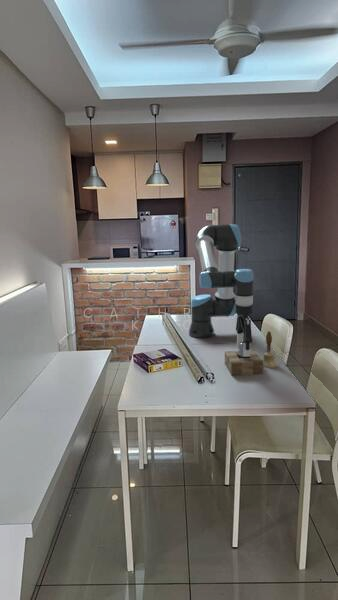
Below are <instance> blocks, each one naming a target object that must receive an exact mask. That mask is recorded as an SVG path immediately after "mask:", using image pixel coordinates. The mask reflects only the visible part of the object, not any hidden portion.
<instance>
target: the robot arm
mask: <svg viewBox="0 0 338 600" xmlns="http://www.w3.org/2000/svg"><path fill="white" fill-rule="evenodd" d="M194 242H195V243H194V244H195V248H196V249H197V251H198V255H199V260H200V266H201V272H200V273H199V277H198V278H199V280H198V281H199V286H200V289H217V291H216V292H215V294H214V296H212V295H211V294H198V295H195V296H193V297H192V298H191V302H190V303H191V304H190V308H191V310H190V311H191V313H190V314H191V323H190V326H189V329H188V335H189V336H190V337H193V338H199V339H203V338H205V339H206V338H210V337H213V336H214V335H215V329H214V325H213V323H212V318H216V317H217V318H222V317H223V318H224V317H234V316H235V315H236V314H237V315H236V325H235V331H236V347H237V348H238V349H239V343H240V342H243V343H244V357H247V356H250V350H251V344H252V343H253V336H252V320H251V319H250V317H249V316H250V315H251V314H253V312H254V311H253V305H254V304H253V303H254V302H253V301H254V278H255V277H254V271H253V270H252V269H250V268H238V269H234V267H235V253H236V251H238V247H240V246H241V244H242V235H241V230H240V227H239V226H238V224H233V223H228V224H227V223H225V224H223V223H222V224H208V225H205V226H204V227H202V228H201V229H200V230H199V231H198V232H197V234H196V236H195V240H194ZM214 247H216V251H217V252H218V261H217V259H216V258H217V257H216V256H215V251H214ZM217 262H218V263H217ZM233 288H235V292H233V291H234V290H233Z"/></svg>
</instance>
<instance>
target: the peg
mask: <svg viewBox="0 0 338 600" xmlns="http://www.w3.org/2000/svg"><path fill="white" fill-rule="evenodd" d="M238 351H239V359H241V358H247V357H244V343H243V342H240V343H239V347H238Z"/></svg>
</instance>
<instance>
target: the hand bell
mask: <svg viewBox="0 0 338 600" xmlns="http://www.w3.org/2000/svg"><path fill="white" fill-rule="evenodd" d="M266 333H267V334H266V336H265V342H266V345H267V346H266V352H264V353H263V357H262V360H263V368H267V369H273V368H278V365H279V363H278V362H277V361H276V359H275V354H274V353H273V352H272V350H271V349H272V348H271V346H272V341H273V337H272V333H271V331H267V332H266Z"/></svg>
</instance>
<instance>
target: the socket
mask: <svg viewBox="0 0 338 600" xmlns="http://www.w3.org/2000/svg"><path fill="white" fill-rule="evenodd" d="M224 365H225V366H226V369H227V370H228V372H229V374H230V376H231V377H235V376H236V377H237V376H250V375H253V376H254V375H263V373H264V367H263V358H262V357H260V356H259V354H258V353H257V352H256V351H255V349H250V356H247V358H241V359H239V350H233V351H232V350H230V351H229V350H228V351H224Z"/></svg>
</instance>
